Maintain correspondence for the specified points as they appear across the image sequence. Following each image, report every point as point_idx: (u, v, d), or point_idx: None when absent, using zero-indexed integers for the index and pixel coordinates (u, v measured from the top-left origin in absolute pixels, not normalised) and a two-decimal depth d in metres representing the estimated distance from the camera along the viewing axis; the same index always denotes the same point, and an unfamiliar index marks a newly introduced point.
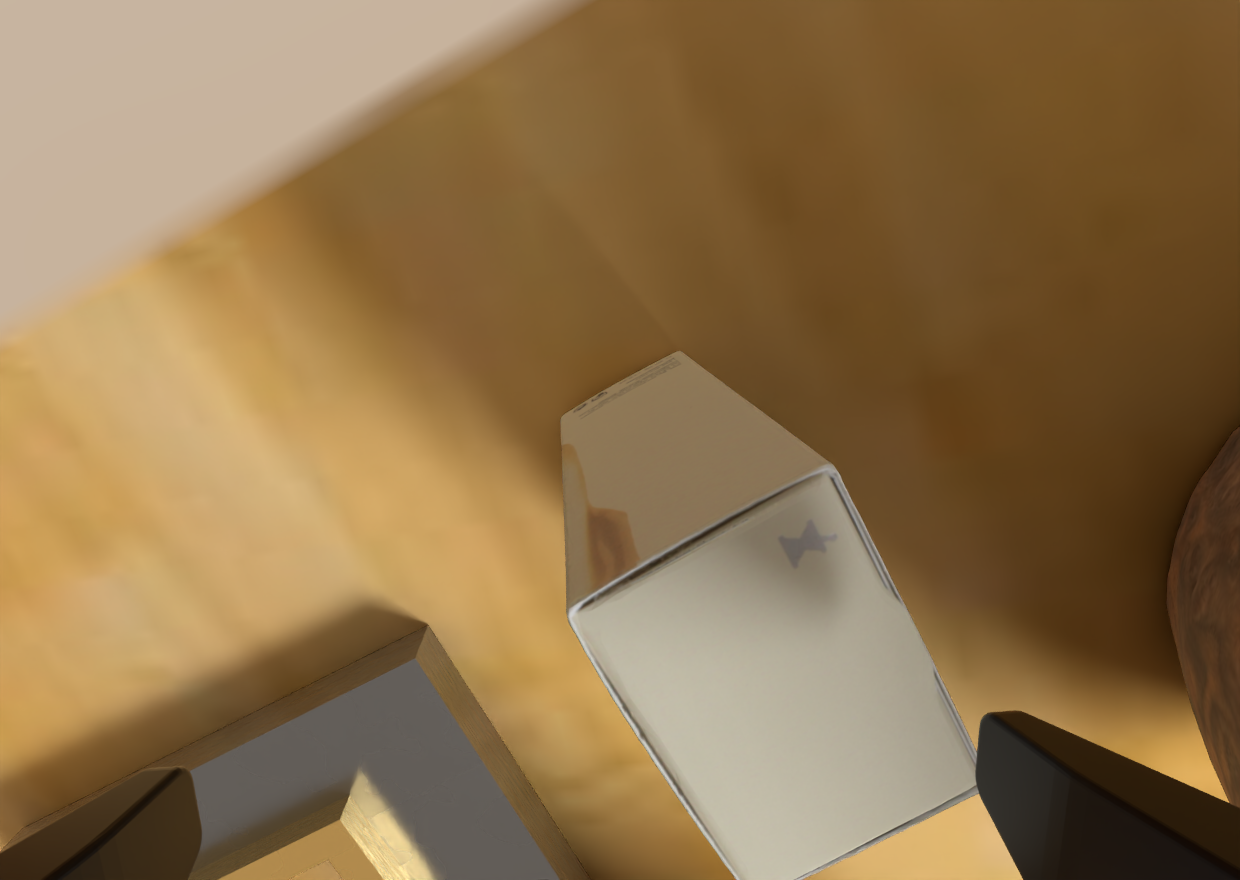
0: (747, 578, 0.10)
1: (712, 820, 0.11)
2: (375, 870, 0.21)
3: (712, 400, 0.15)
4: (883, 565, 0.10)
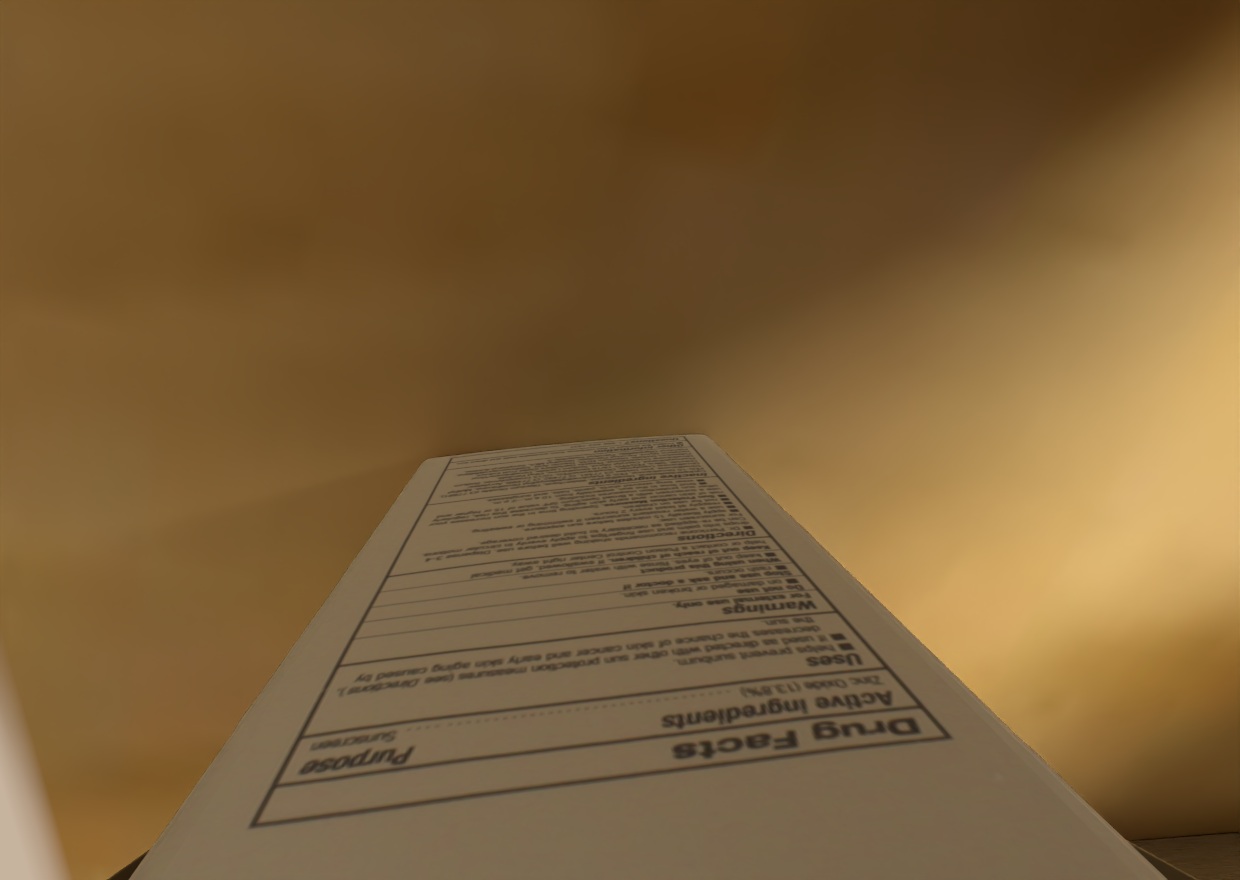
0: None
1: None
2: None
3: None
4: None
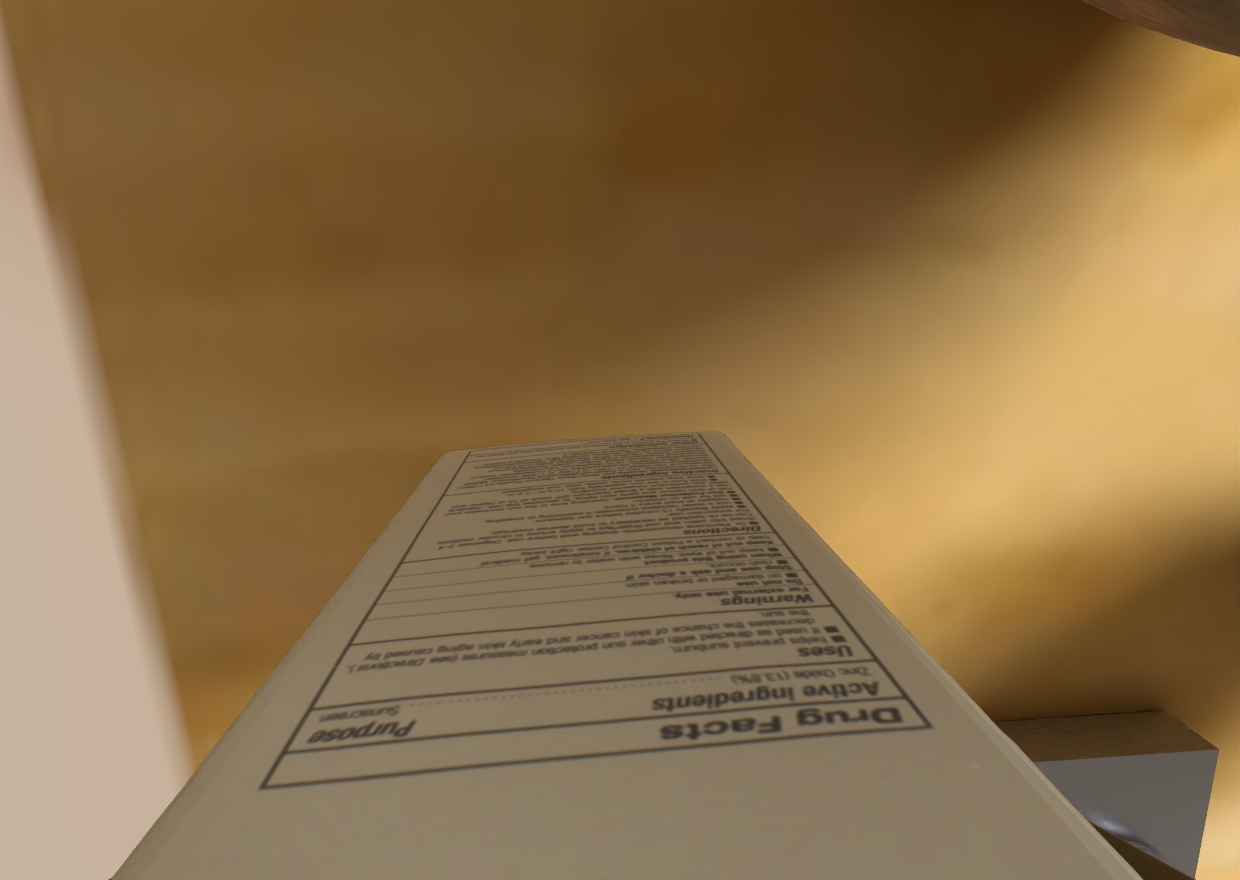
0: None
1: None
2: None
3: None
4: None
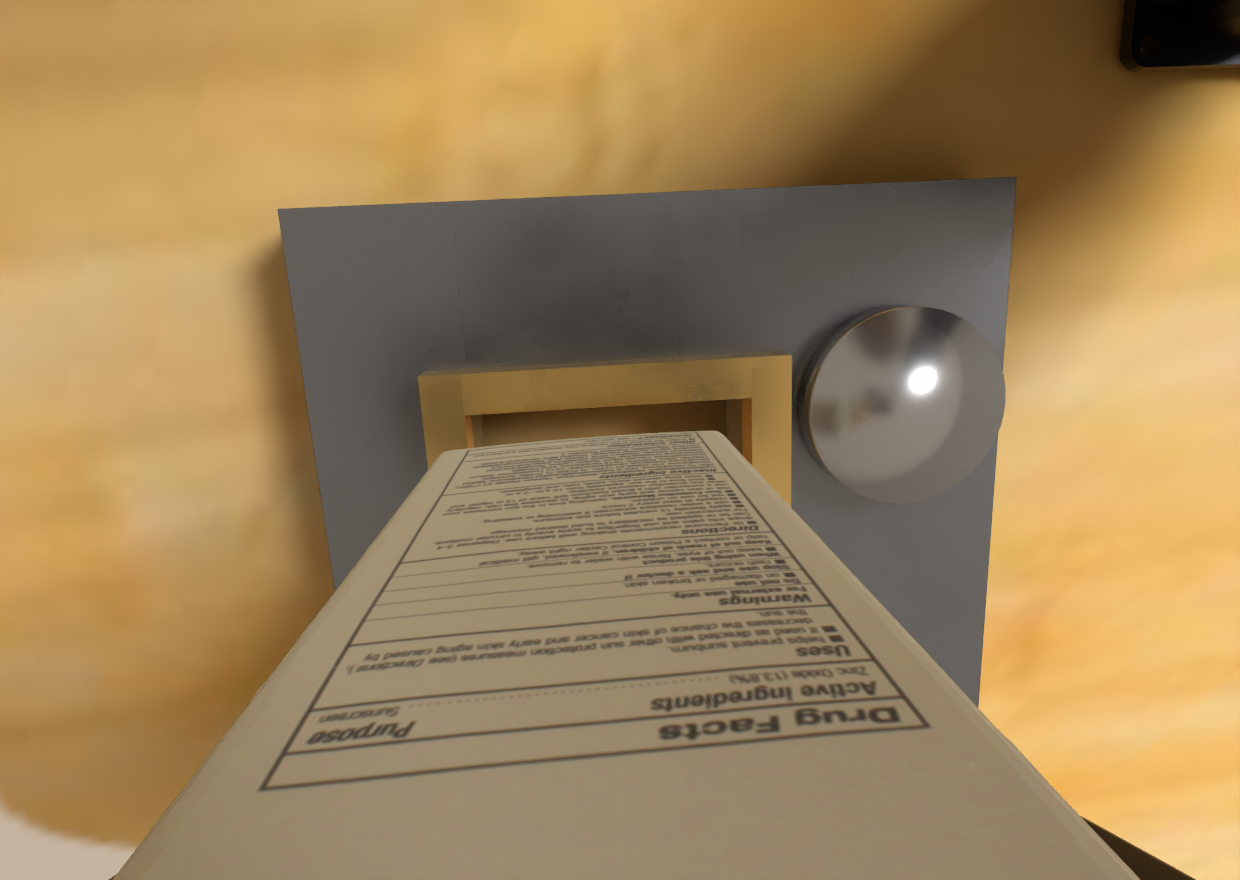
0: None
1: None
2: (504, 373, 0.17)
3: None
4: None
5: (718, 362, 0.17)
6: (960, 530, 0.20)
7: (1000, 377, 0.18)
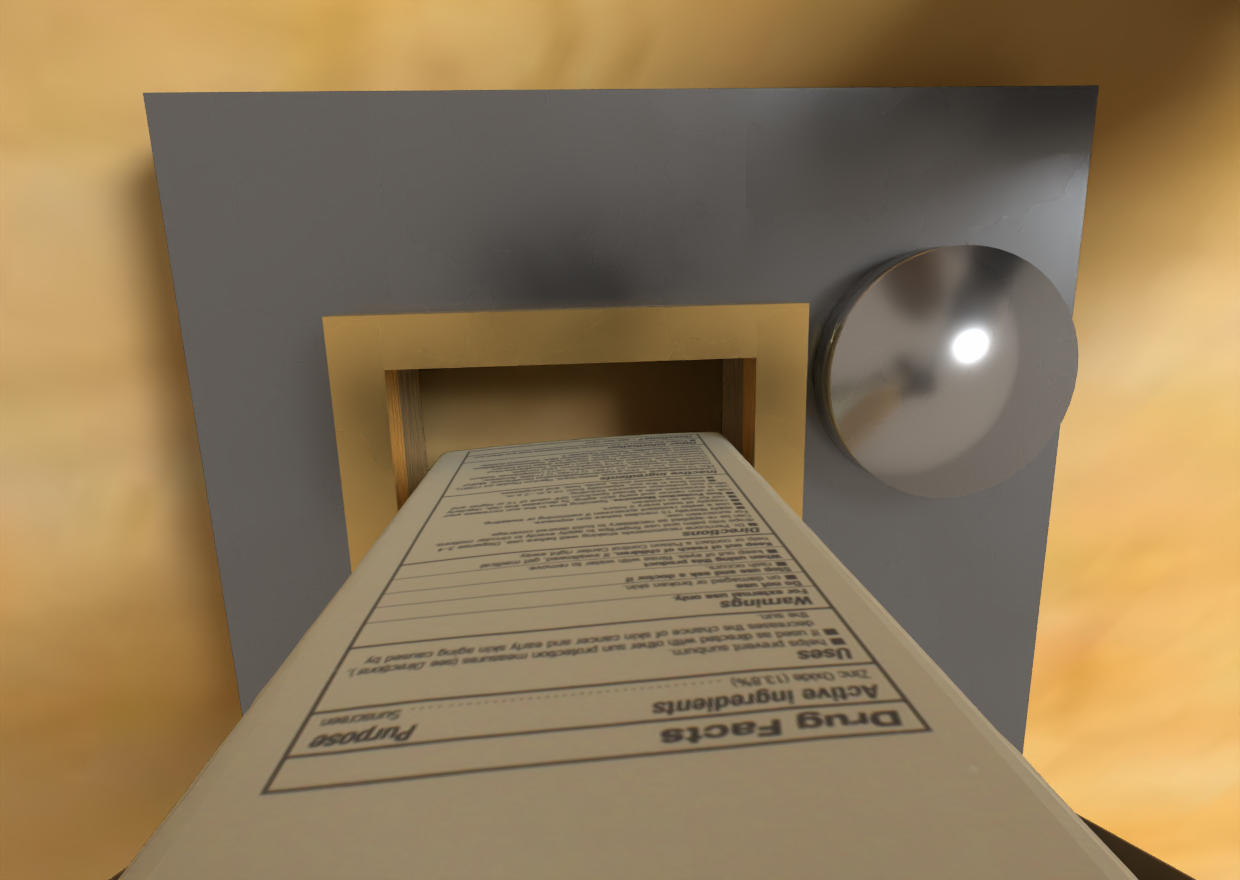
0: None
1: None
2: (436, 316, 0.13)
3: None
4: None
5: (714, 309, 0.13)
6: (1010, 534, 0.16)
7: (1072, 340, 0.14)
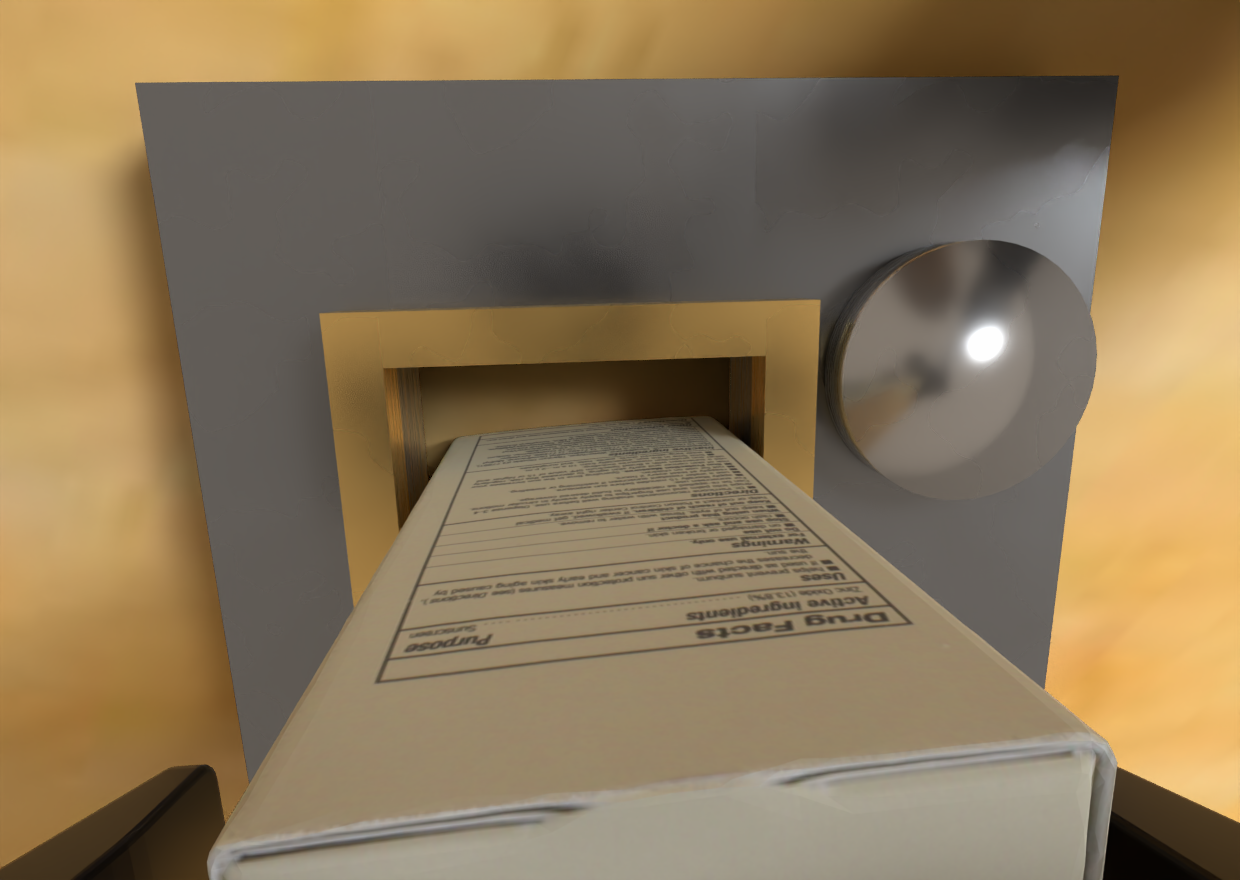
0: None
1: None
2: (436, 313, 0.13)
3: None
4: (491, 808, 0.05)
5: (723, 306, 0.13)
6: (1024, 537, 0.16)
7: (1091, 337, 0.14)
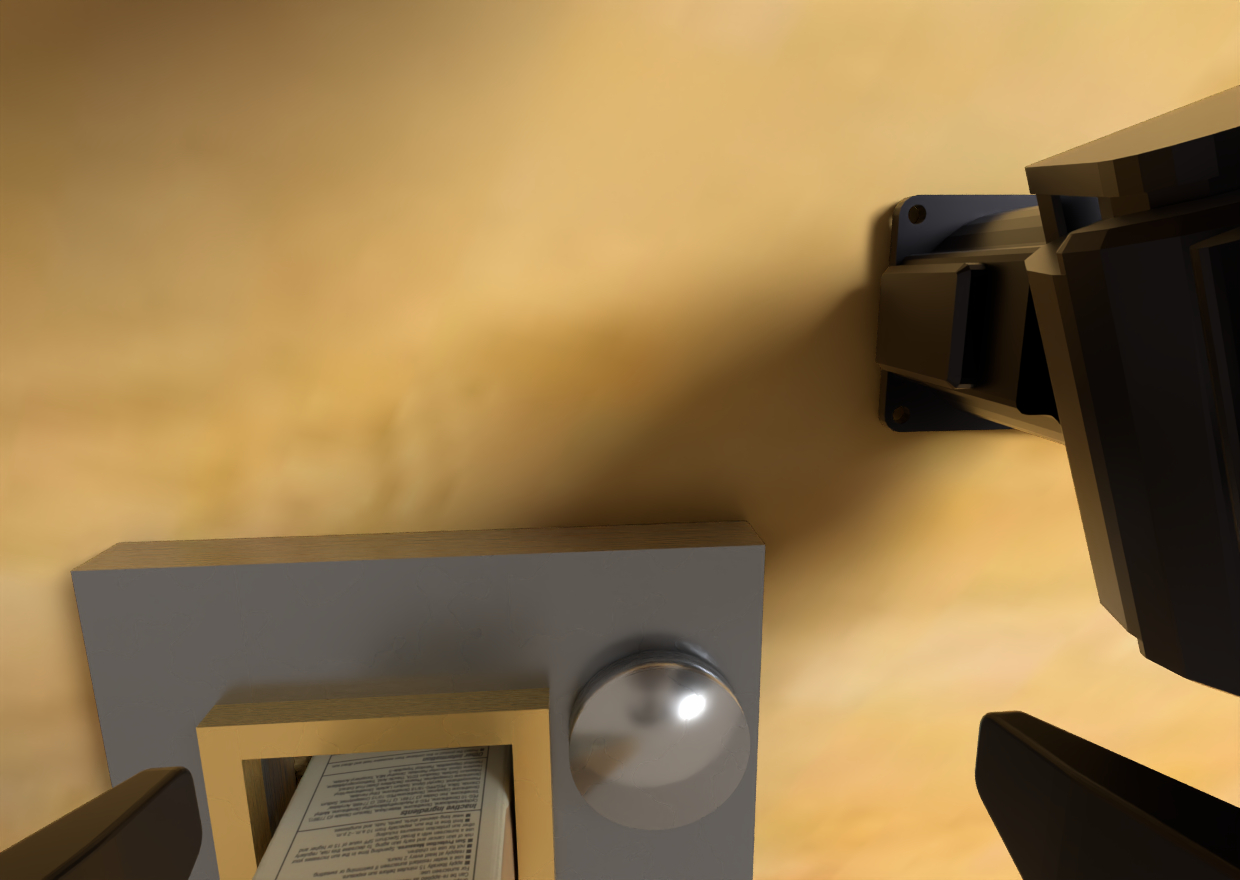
0: None
1: None
2: (278, 724, 0.18)
3: None
4: None
5: (479, 715, 0.19)
6: (725, 836, 0.21)
7: (744, 726, 0.19)
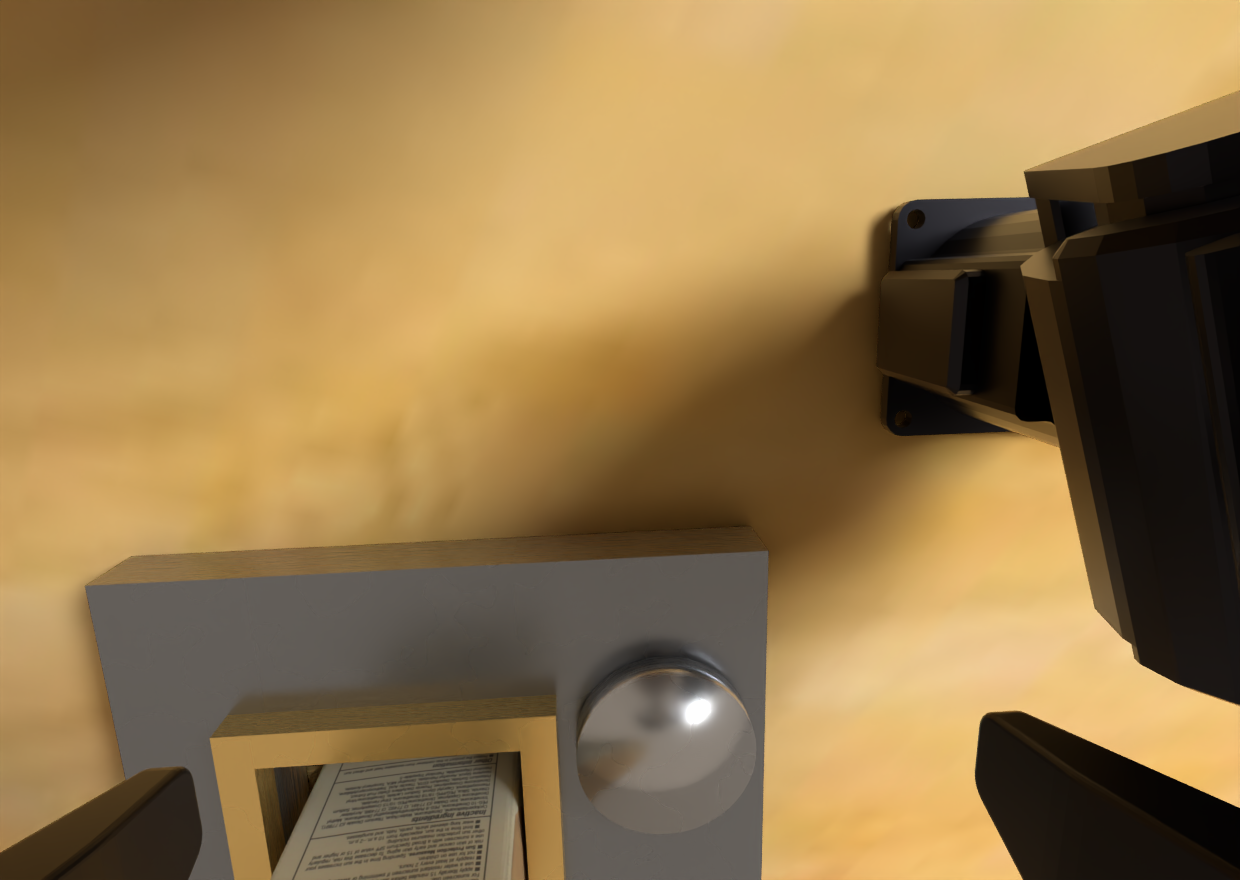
0: None
1: None
2: (290, 734, 0.19)
3: None
4: None
5: (487, 723, 0.19)
6: (733, 839, 0.22)
7: (750, 731, 0.20)
